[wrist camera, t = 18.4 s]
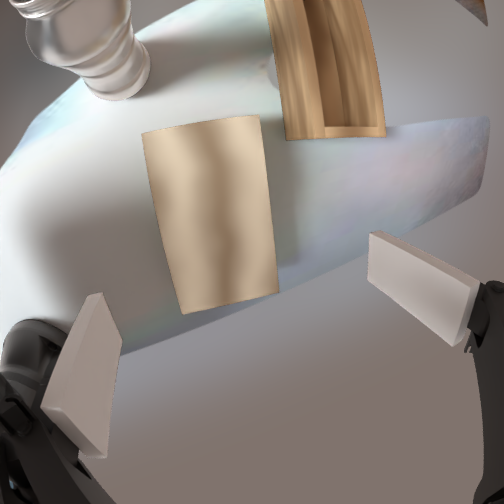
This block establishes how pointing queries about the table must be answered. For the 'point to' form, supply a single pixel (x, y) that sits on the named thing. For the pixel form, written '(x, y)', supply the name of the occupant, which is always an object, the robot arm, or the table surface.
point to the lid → (213, 210)
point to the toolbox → (325, 69)
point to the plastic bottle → (89, 43)
